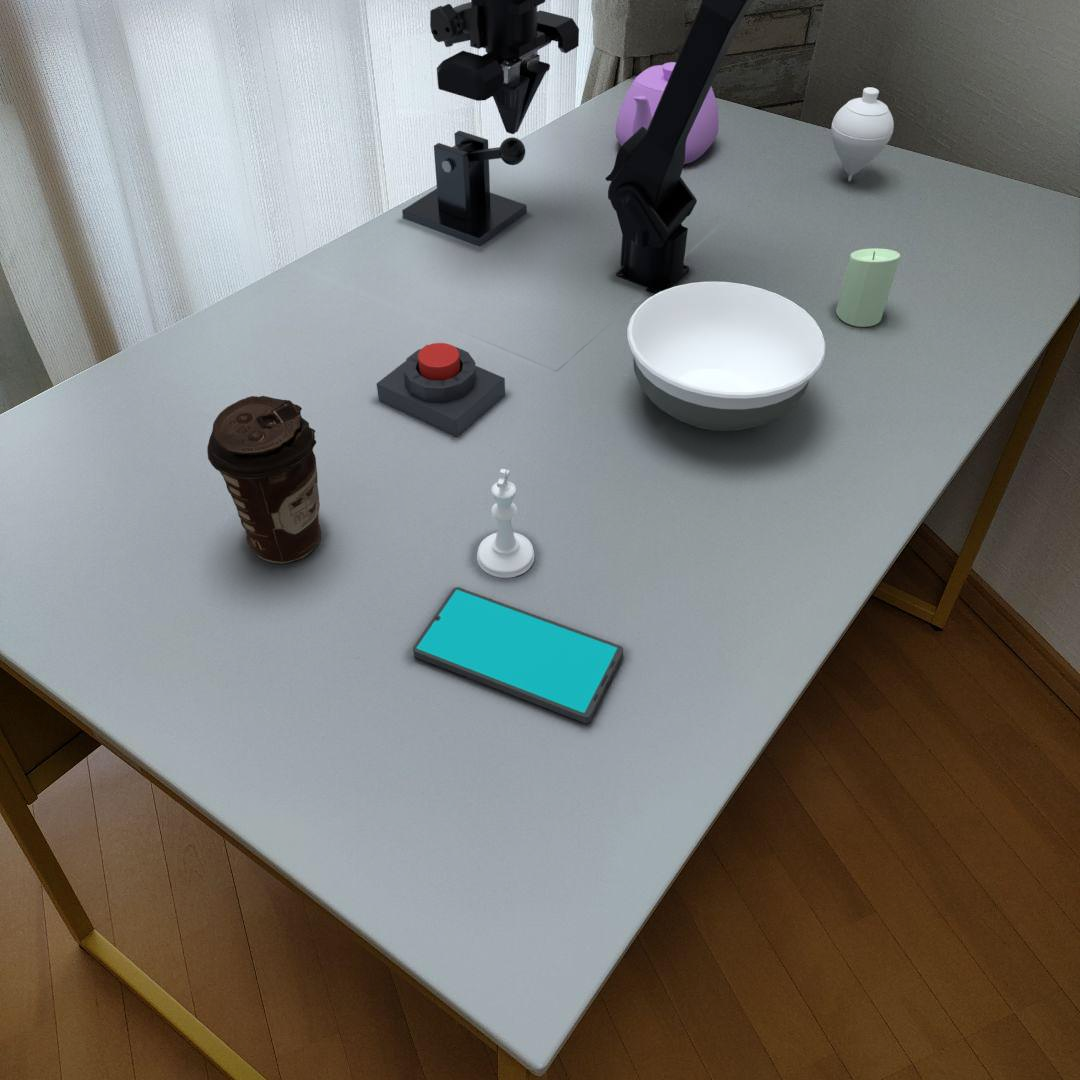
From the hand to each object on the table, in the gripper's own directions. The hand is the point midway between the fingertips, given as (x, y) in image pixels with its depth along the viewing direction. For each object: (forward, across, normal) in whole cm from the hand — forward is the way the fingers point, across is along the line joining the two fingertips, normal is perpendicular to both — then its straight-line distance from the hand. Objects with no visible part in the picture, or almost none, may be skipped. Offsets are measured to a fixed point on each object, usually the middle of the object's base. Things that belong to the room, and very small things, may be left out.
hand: (511, 132), depth 113 cm
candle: (+13, -8, +42) cm, 44 cm away
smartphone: (+13, +52, +37) cm, 65 cm away
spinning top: (+13, -37, +28) cm, 49 cm away
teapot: (+13, -31, +4) cm, 34 cm away
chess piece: (+13, +44, +30) cm, 55 cm away
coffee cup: (+13, +53, +13) cm, 56 cm away
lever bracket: (+13, 0, -8) cm, 15 cm away
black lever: (+5, 0, -3) cm, 6 cm away
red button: (+9, +30, +12) cm, 34 cm away
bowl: (+13, +15, +36) cm, 41 cm away
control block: (+13, +30, +12) cm, 35 cm away
